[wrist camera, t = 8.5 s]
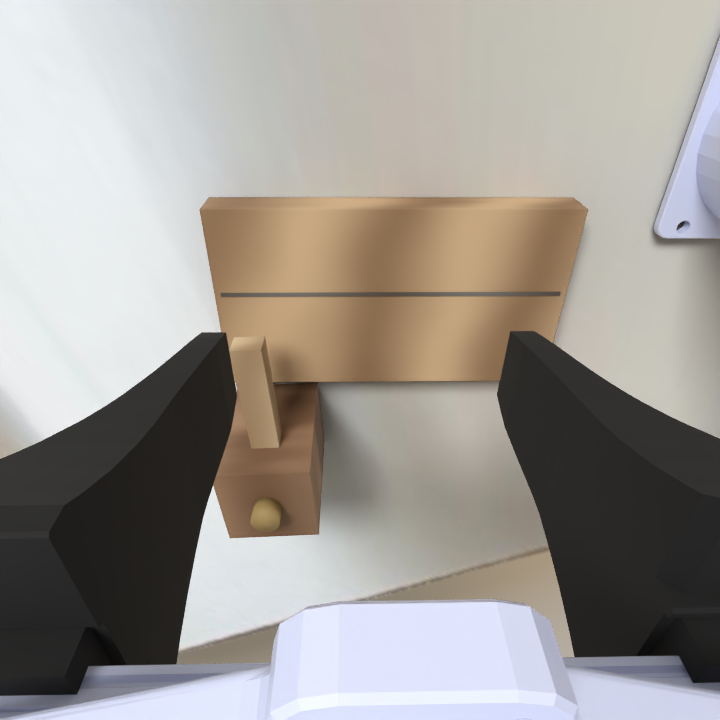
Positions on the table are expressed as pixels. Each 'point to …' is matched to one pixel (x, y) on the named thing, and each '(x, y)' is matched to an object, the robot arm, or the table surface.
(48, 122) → the table surface
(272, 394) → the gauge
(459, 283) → the board
